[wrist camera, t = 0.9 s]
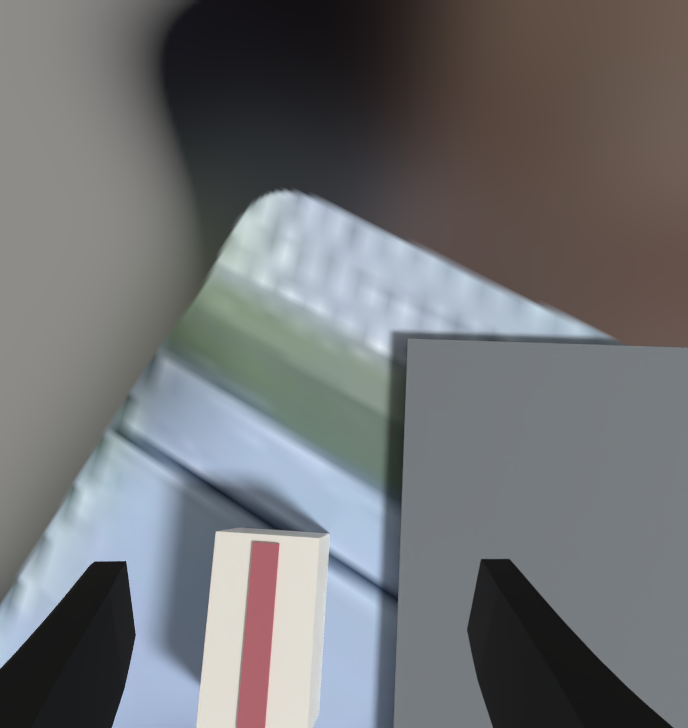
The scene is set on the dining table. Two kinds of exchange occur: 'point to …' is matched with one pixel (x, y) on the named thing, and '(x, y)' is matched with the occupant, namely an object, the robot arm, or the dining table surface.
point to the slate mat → (544, 511)
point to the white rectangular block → (264, 629)
